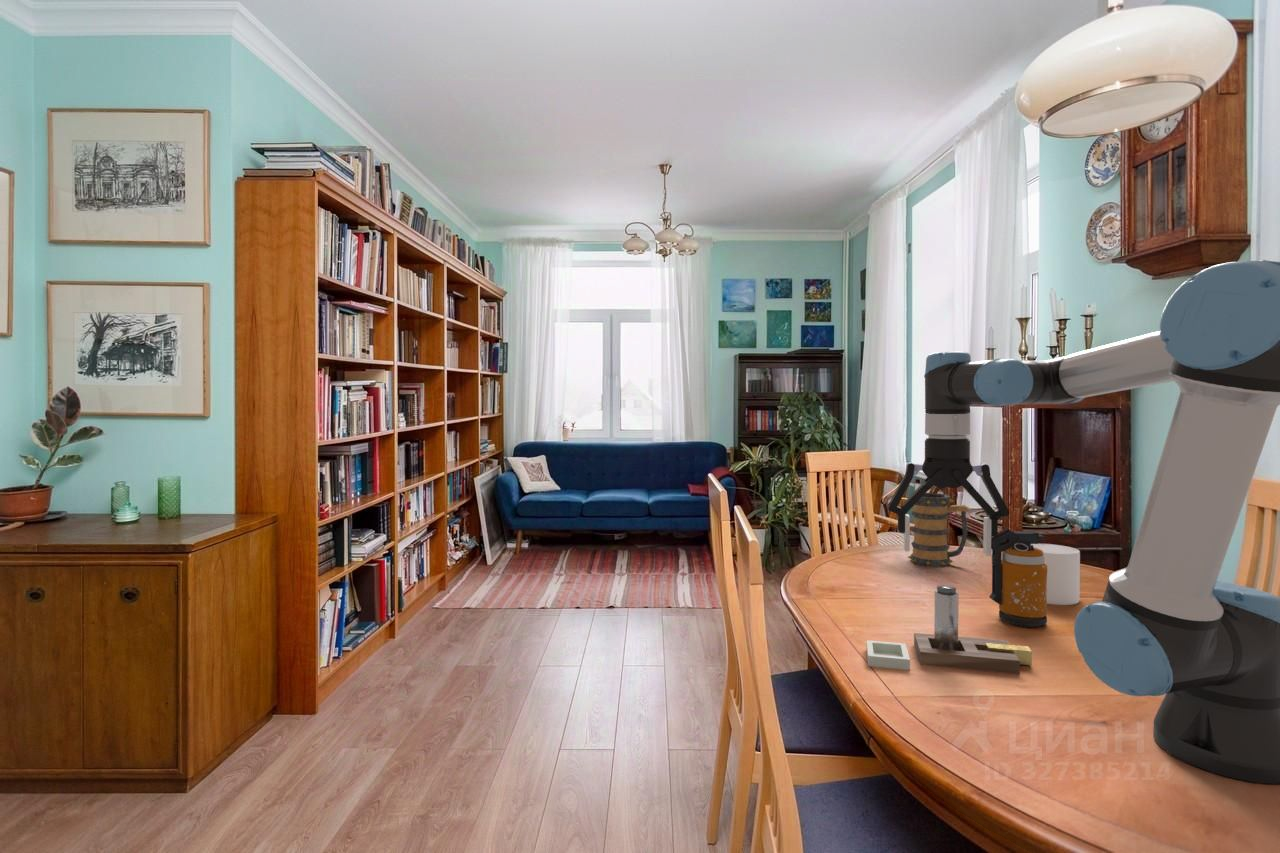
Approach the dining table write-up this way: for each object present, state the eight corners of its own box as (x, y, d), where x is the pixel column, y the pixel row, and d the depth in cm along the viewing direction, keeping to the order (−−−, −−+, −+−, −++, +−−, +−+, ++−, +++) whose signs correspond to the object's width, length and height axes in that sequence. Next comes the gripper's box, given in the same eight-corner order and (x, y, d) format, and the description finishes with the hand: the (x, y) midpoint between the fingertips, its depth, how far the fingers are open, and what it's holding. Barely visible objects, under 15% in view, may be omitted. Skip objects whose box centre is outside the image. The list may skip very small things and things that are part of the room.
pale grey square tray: (910, 673, 117) (910, 659, 117) (868, 669, 119) (868, 655, 119) (905, 656, 125) (905, 643, 125) (866, 653, 127) (866, 640, 127)
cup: (1031, 603, 156) (1032, 553, 155) (1016, 589, 167) (1016, 542, 167) (1087, 606, 153) (1088, 555, 153) (1068, 592, 164) (1068, 544, 164)
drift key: (1031, 665, 118) (1032, 651, 117) (988, 661, 120) (988, 647, 119) (1028, 660, 120) (1028, 646, 120) (985, 656, 122) (985, 642, 122)
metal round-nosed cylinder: (959, 661, 120) (960, 591, 120) (935, 659, 121) (936, 589, 121) (956, 653, 124) (956, 585, 124) (933, 651, 125) (933, 583, 125)
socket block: (1019, 677, 115) (1019, 660, 115) (920, 668, 119) (920, 651, 119) (1005, 656, 124) (1005, 640, 124) (914, 648, 129) (914, 632, 129)
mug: (909, 555, 205) (909, 491, 204) (971, 561, 196) (972, 494, 195) (903, 564, 193) (904, 496, 193) (969, 571, 185) (970, 500, 184)
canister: (1053, 630, 138) (1055, 534, 137) (996, 627, 140) (996, 533, 139) (1037, 616, 147) (1038, 526, 146) (983, 613, 149) (983, 525, 148)
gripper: (1018, 436, 121) (1016, 551, 122) (873, 435, 128) (873, 544, 129) (1029, 438, 114) (1027, 560, 115) (876, 437, 121) (875, 552, 122)
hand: (946, 552), depth 122 cm, fingers open, 13 cm apart
